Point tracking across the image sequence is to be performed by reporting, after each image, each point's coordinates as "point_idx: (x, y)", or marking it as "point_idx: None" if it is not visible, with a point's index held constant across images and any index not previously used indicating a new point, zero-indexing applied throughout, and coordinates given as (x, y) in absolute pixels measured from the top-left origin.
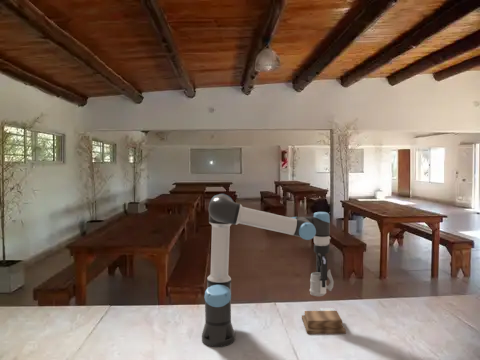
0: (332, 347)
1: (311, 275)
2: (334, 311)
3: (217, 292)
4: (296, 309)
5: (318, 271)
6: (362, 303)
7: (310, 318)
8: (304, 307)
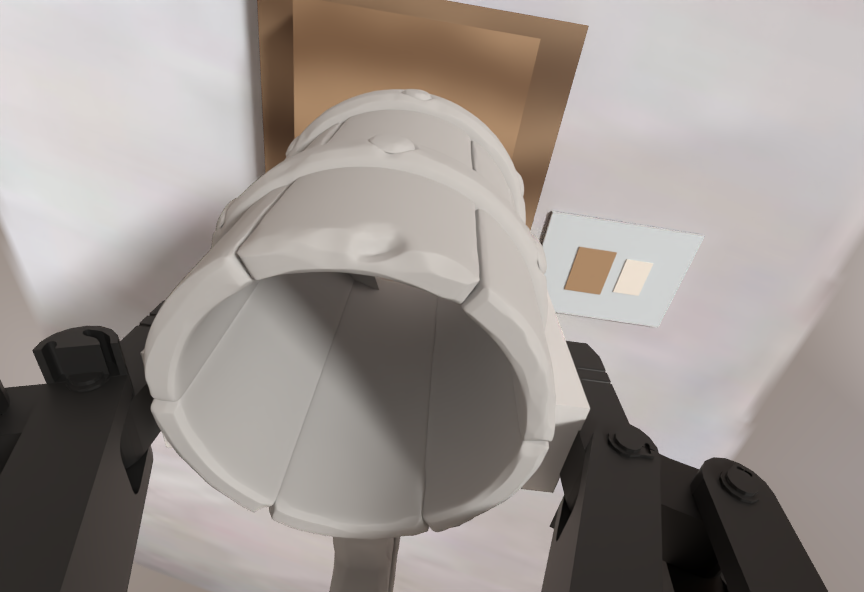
0: (64, 102)
1: (303, 223)
2: None
3: None
4: (788, 37)
5: (578, 509)
6: None
7: (346, 40)
8: (788, 130)
